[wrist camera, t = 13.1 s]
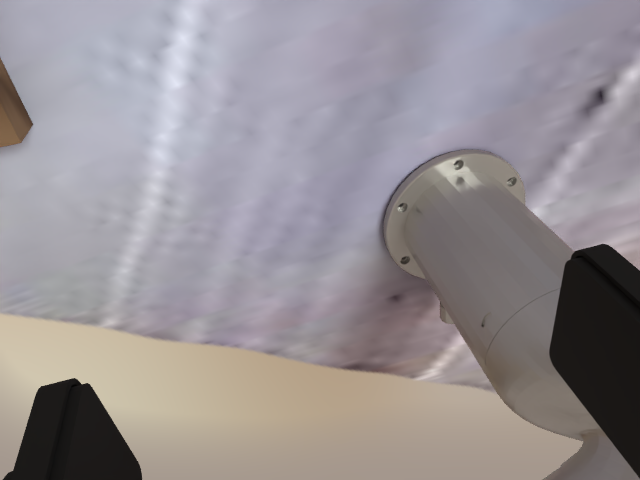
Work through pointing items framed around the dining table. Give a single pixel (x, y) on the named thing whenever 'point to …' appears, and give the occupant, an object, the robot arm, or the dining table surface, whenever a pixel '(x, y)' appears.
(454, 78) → the dining table surface
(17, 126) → the walnut bore plate
